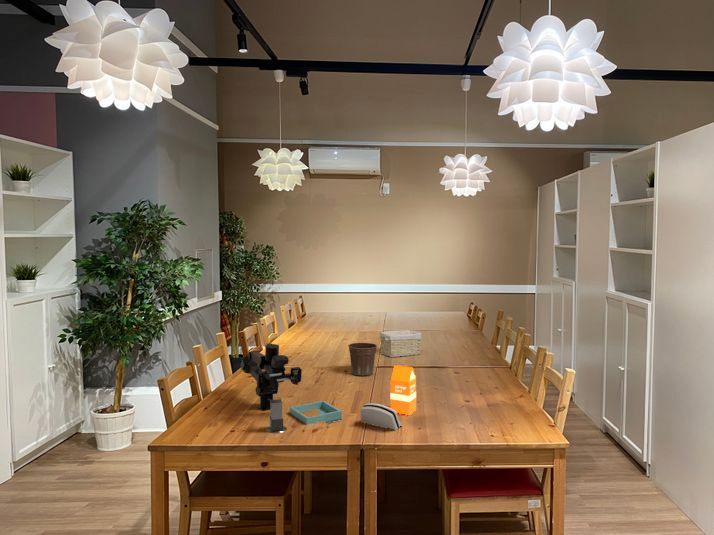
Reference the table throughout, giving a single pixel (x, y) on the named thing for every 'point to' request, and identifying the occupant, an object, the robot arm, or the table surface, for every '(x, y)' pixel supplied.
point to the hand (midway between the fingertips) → (286, 385)
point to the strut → (276, 415)
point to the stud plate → (277, 431)
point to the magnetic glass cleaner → (380, 416)
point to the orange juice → (403, 390)
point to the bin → (325, 409)
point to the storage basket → (400, 343)
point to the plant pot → (362, 358)
